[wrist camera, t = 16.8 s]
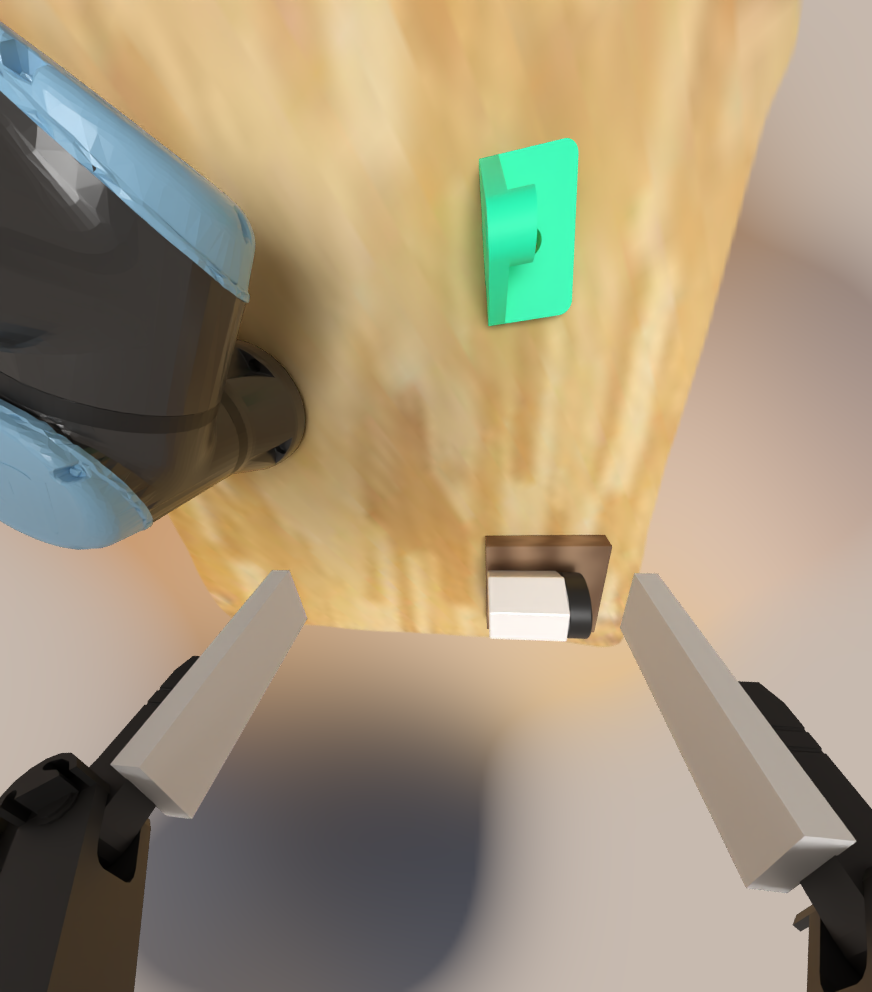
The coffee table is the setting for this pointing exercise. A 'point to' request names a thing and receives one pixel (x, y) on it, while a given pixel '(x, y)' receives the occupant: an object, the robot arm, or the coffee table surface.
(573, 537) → the plinth
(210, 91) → the coffee table surface
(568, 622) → the jar
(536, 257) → the camera mount
